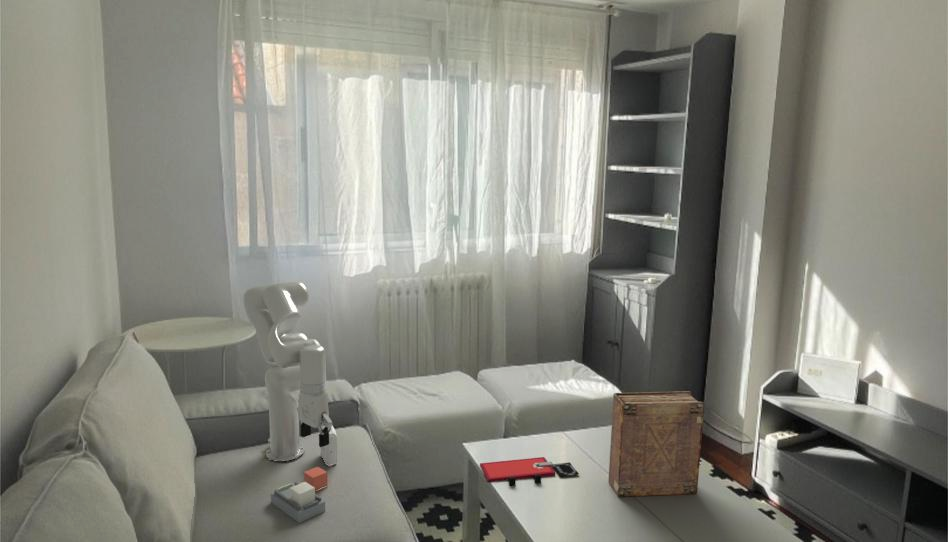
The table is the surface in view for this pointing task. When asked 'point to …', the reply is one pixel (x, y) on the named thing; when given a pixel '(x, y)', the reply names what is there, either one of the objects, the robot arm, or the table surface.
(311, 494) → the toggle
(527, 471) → the red board with handle
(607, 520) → the table surface
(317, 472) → the red cube
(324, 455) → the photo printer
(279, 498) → the grey tray
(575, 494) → the table surface
